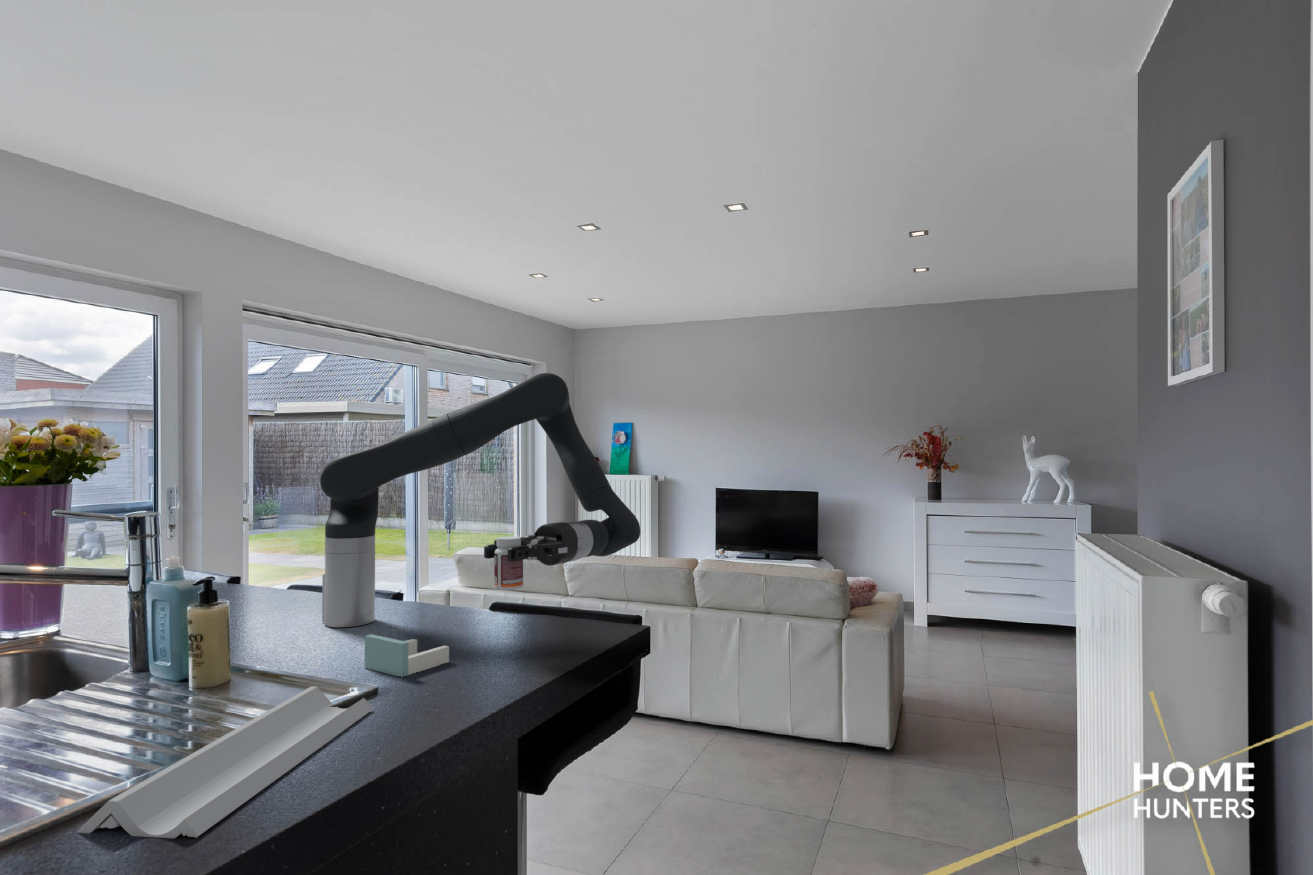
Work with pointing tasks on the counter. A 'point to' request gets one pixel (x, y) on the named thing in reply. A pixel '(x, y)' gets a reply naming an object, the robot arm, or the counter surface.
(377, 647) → the u-shaped bracket
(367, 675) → the counter surface
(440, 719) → the counter surface
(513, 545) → the pill bottle
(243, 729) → the crown molding
